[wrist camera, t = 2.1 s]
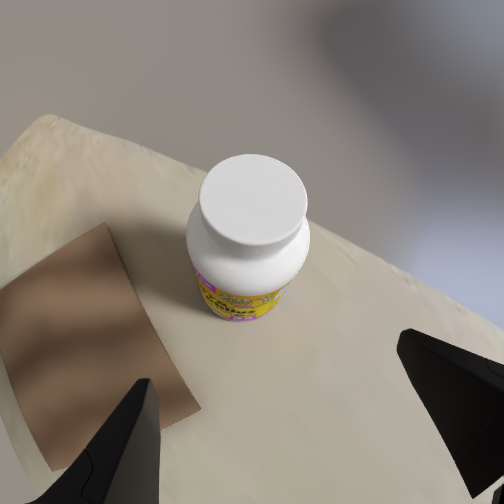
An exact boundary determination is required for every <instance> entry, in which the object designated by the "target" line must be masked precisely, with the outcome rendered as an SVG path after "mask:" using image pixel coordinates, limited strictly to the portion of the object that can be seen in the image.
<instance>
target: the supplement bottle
mask: <svg viewBox="0 0 504 504" xmlns="http://www.w3.org/2000/svg"><path fill="white" fill-rule="evenodd" d="M198 200H199V201H198V202H197V203H196V205H195V206H194V208H193V210H192V212H191V214H190V216H189V219H188V223H187V229H186V244H187V249H188V252H189V256H190V259H191V262H192V265H193V268H194V272H195V275H196V278H197V281H198V284H199V287H200V290H201V293H202V296H203V298H204V300H205V302H206V303H207V305H208V306H209V307H210V309H211V310H212V311H214V312H215V313H216V314H217V315H219V316H221V317H223V318H225V319H227V320H231V321H235V322H247V321H252V320H256V319H258V318H261V317H262V316H264V315H266V314H267V313H268V312H269V311H271V310H272V309H273V307H274V306H275V305H276V304H277V302H278V301H279V300H280V298H281V297H282V295H283V294H284V292H285V291H286V290H287V288H288V287H289V285H290V283H291V282H292V280H293V279H294V278H295V276H296V275H297V273H298V272H299V270H300V268H301V267H302V265H303V263H304V261H305V259H306V256H307V253H308V250H309V244H310V232H309V226H308V222H307V219H306V217H305V215H306V211H307V194H306V191H305V188H304V185H303V183H302V181H301V180H300V178H299V177H298V175H297V174H296V173H295V172H294V171H293V170H292V169H291V168H289V167H288V166H287V165H285V164H284V163H282V162H280V161H278V160H276V159H273V158H271V157H267V156H263V155H256V154H245V155H239V156H233V157H231V158H228V159H226V160H224V161H222V162H220V163H218V164H217V165H216V166H214V167H213V168H212V169H211V170H210V171H209V172H208V173H207V175H206V176H205V178H204V179H203V181H202V184H201V186H200V190H199V197H198Z"/></svg>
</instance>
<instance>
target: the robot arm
mask: <svg viewBox="0 0 504 504" xmlns="http://www.w3.org/2000/svg"><path fill="white" fill-rule="evenodd" d="M397 353H398V356H399V358H400V360H401V362H402V364H403V366H404V368H405V371H406V373H407V375H408V377H409V379H410V381H411V383H412V385H413V387H414V389H415V390H416V392H417V394H418V395H419V397H420V399H421V401H422V402H423V404H424V406H425V408H426V409H427V411H428V413H429V415H430V417H431V418H432V420H433V422H434V424H435V426H436V427H437V429H438V431H439V433H440V435H441V437H442V438H443V440H444V442H445V444H446V446H447V448H448V450H449V452H450V454H451V456H452V458H453V460H454V461H455V464H456V466H457V468H458V470H459V472H460V474H461V476H462V478H463V480H464V482H465V485H466V487H467V489H468V491H469V493H470V495H471V497H472V499H474V498H475V497H477V496H478V495H479V494H481V493H482V492H483V491H484V490H486V489H487V488H488V487H490V486H491V485H492V484H493V483H495V482H496V481H497V480H498V479H499V478H500V477H502V476H503V477H504V365H503V364H500V363H497V362H495V361H492V360H489V359H487V358H484V357H482V356H479V355H477V354H474V353H472V352H469V351H467V350H464V349H462V348H459V347H456V346H454V345H451V344H449V343H446V342H444V341H441V340H439V339H436V338H434V337H431V336H429V335H426V334H424V333H422V332H419V331H417V330H414V329H411V328H410V329H406V330H403V331H402V332H401V333H400V337H399V340H398V344H397ZM160 443H161V435H160V419H159V399H158V394H157V392H156V389H155V387H154V385H153V382H152V380H151V379H150V378H139V379H138V380H137V381H136V382H135V383H134V385H133V386H132V387H131V388H130V390H129V391H128V392H127V394H126V395H125V396H124V397H123V399H122V400H121V401H120V403H119V404H118V405H117V406H116V408H115V409H114V410H113V412H112V413H111V414H110V415H109V417H108V418H107V419H106V421H105V422H104V423H103V425H102V426H101V427H100V428H99V430H98V431H97V432H96V434H95V435H94V436H93V438H92V439H91V440H90V442H89V443H88V444H87V445H86V448H84V449H83V451H82V452H81V453H80V454H79V456H78V457H77V458H76V459H75V461H74V462H73V463H72V464H71V466H70V467H69V468H68V469H67V470H66V471H65V472H64V473H63V474H62V475H61V476H60V477H59V478H58V479H57V480H56V481H55V482H54V483H53V485H52V486H51V487H50V488H49V489H48V490H47V491H46V492H45V493H44V494H43V495H41V496H40V497H39V498H38V499H36V500H34V501H32V502H30V503H26V504H159V465H160ZM492 504H504V483H503V484H502V485H501V486H500V487H498V488H497V489H496V490H495V491H494V495H493V500H492Z"/></svg>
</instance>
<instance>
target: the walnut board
mask: <svg viewBox="0 0 504 504" xmlns="http://www.w3.org/2000/svg"><path fill="white" fill-rule="evenodd" d="M0 350H1V354H2V357H3V360H4V364H5V367H6V370H7V373H8V376H9V379H10V382H11V385H12V388H13V391H14V393H15V396H16V399H17V401H18V404H19V406H20V409H21V411H22V413H23V416H24V418H25V420H26V422H27V425H28V427H29V429H30V431H31V433H32V435H33V437H34V439H35V441H36V443H37V445H38V447H39V449H40V451H41V453H42V455H43V456H44V458H45V460H46V462H47V463H48V465H49V467H50V469H51V470H52V472H53V471H56V470H59V469H62V468H66V467H69V466H71V464H72V463H73V462H74V461H75V459H76V458H77V457H78V456H79V454H80V453H81V452H82V451H83V449H84V448H86V445H87V444H88V443H89V442H90V440H91V439H92V438H93V436H94V435H95V434H96V432H97V431H98V430H99V428H100V427H101V426H102V425H103V423H104V422H105V421H106V419H107V418H108V417H109V415H110V414H111V413H112V412H113V410H114V409H115V408H116V406H117V405H118V404H119V403H120V401H121V400H122V399H123V397H124V396H125V395H126V394H127V392H128V391H129V390H130V388H131V387H132V386H133V385H134V383H135V382H136V381H137V380H138V379H139V378H150V379H151V380H152V382H153V385H154V387H155V389H156V392H157V394H158V399H159V419H160V430H161V429H163V428H165V427H168V426H170V425H172V424H174V423H176V422H178V421H180V420H182V419H184V418H186V417H188V416H190V415H192V414H194V413H195V412H197V411H199V410H200V409H201V408H200V406H199V404H198V403H197V401H196V400H195V398H194V397H193V395H192V394H191V392H190V390H189V389H188V387H187V385H186V384H185V382H184V381H183V379H182V377H181V376H180V374H179V372H178V370H177V369H176V367H175V365H174V364H173V362H172V360H171V358H170V357H169V355H168V353H167V351H166V349H165V348H164V346H163V344H162V342H161V340H160V338H159V337H158V335H157V333H156V331H155V329H154V327H153V325H152V323H151V321H150V319H149V317H148V315H147V313H146V311H145V309H144V307H143V305H142V303H141V301H140V299H139V297H138V295H137V293H136V291H135V288H134V286H133V284H132V282H131V280H130V277H129V275H128V273H127V271H126V268H125V266H124V264H123V262H122V259H121V257H120V254H119V252H118V250H117V247H116V245H115V242H114V240H113V237H112V235H111V232H110V230H109V227H108V226H107V224H106V223H103V224H101V225H99V226H98V227H96V228H94V229H92V230H91V231H89V232H87V233H86V234H84V235H82V236H81V237H79V238H77V239H76V240H74V241H72V242H71V243H69V244H68V245H66V246H64V247H63V248H61V249H60V250H58V251H56V252H55V253H53V254H52V255H50V256H49V257H47V258H46V259H44V260H43V261H41V262H40V263H38V264H37V265H35V266H34V267H32V268H31V269H29V270H28V271H26V272H25V273H24V274H22V275H21V276H19V277H18V278H16V279H15V280H14V281H12V282H11V283H10V284H8V285H7V286H5V287H4V288H3V289H1V290H0Z"/></svg>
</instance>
